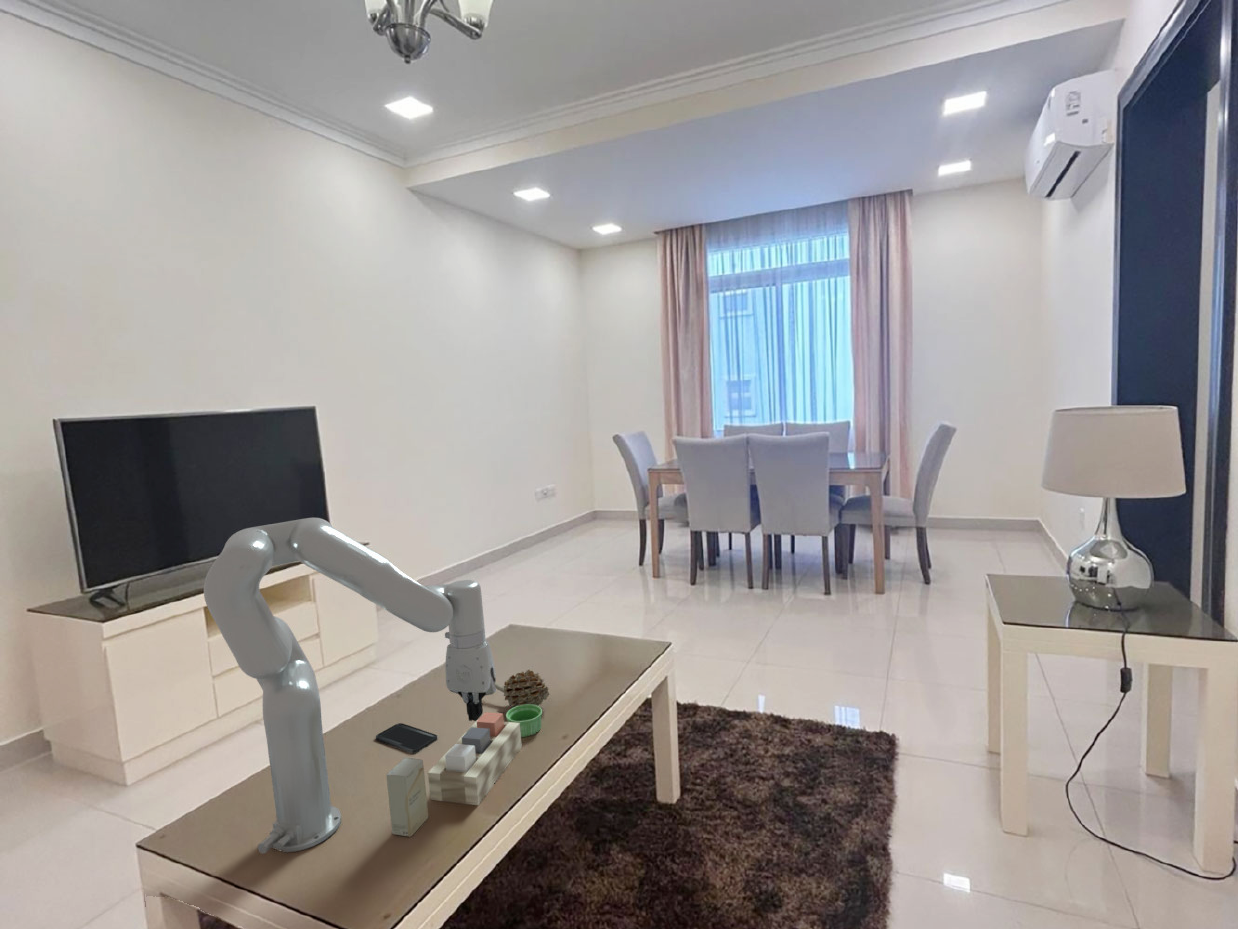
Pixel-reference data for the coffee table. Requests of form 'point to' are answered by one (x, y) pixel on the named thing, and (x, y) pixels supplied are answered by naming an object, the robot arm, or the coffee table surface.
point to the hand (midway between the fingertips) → (475, 717)
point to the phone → (406, 738)
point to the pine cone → (524, 689)
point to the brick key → (492, 723)
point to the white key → (460, 758)
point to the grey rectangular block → (477, 739)
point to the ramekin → (526, 718)
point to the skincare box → (407, 796)
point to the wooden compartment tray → (476, 769)
